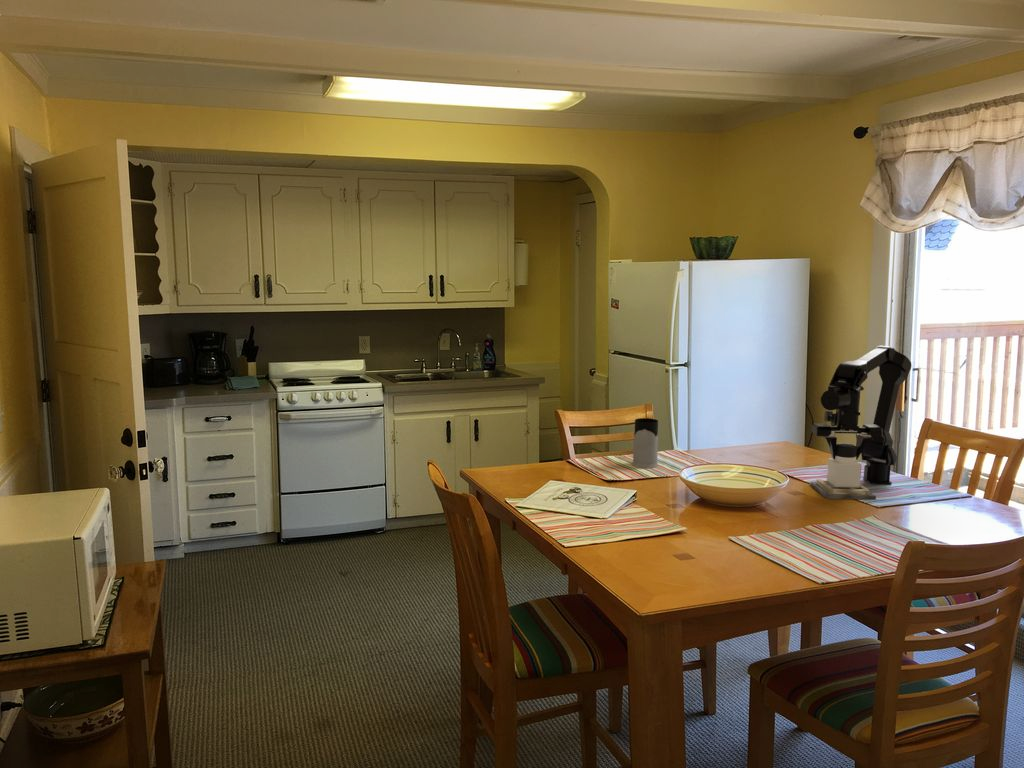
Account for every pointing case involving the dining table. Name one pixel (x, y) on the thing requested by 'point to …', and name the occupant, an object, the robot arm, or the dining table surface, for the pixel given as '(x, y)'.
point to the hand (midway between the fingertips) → (844, 459)
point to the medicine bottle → (844, 467)
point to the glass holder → (645, 443)
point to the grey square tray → (841, 491)
